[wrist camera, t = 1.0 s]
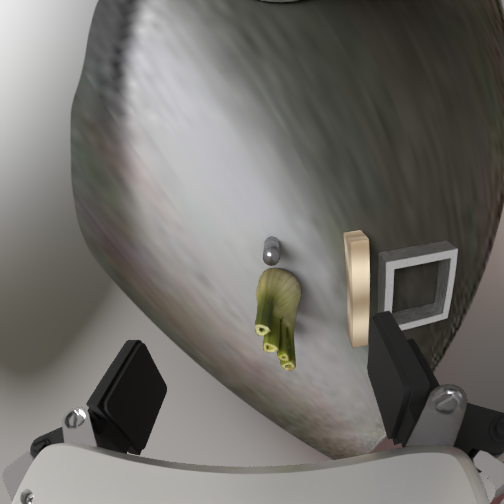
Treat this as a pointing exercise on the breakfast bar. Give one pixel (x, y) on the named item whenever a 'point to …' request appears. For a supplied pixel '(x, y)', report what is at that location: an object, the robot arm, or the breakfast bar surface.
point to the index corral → (409, 258)
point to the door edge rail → (357, 286)
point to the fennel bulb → (278, 313)
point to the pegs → (271, 251)
